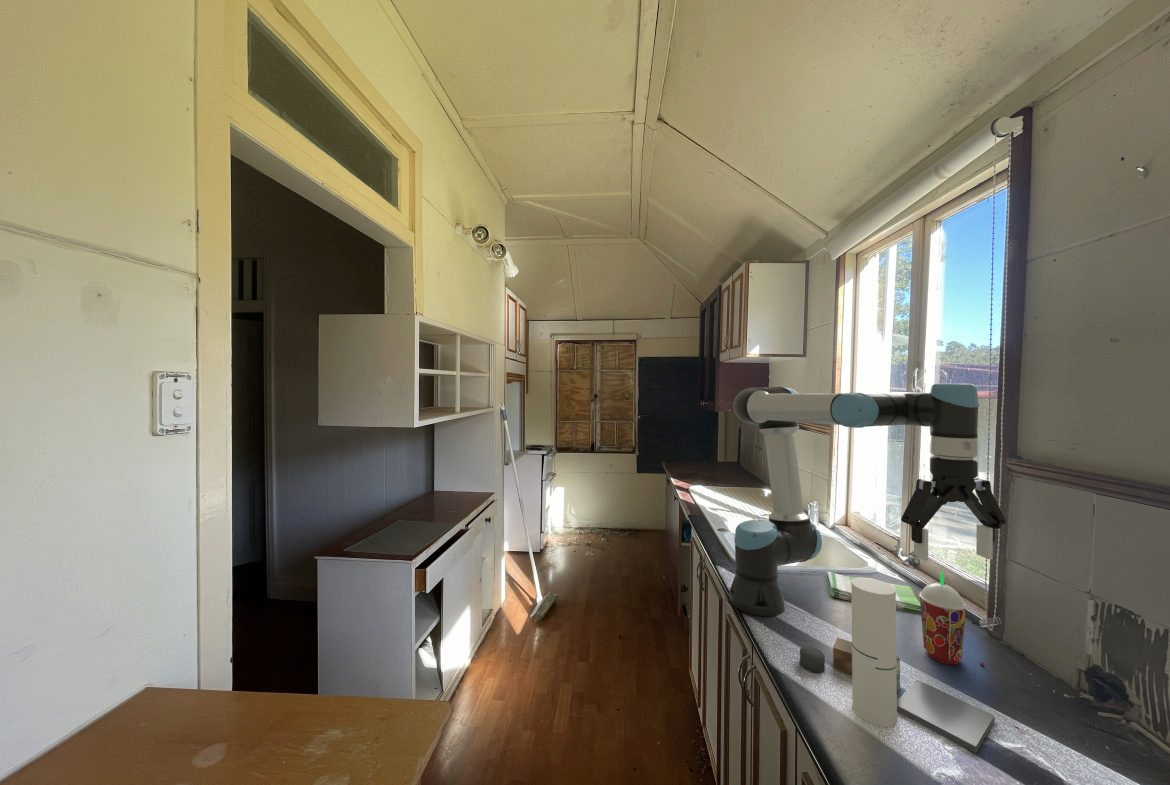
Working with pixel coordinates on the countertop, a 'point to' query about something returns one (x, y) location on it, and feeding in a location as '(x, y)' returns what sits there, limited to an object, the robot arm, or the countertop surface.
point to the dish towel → (904, 594)
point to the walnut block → (842, 656)
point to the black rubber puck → (812, 660)
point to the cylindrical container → (874, 651)
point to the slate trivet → (946, 715)
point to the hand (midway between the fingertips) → (952, 557)
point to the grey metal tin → (898, 673)
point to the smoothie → (942, 622)
